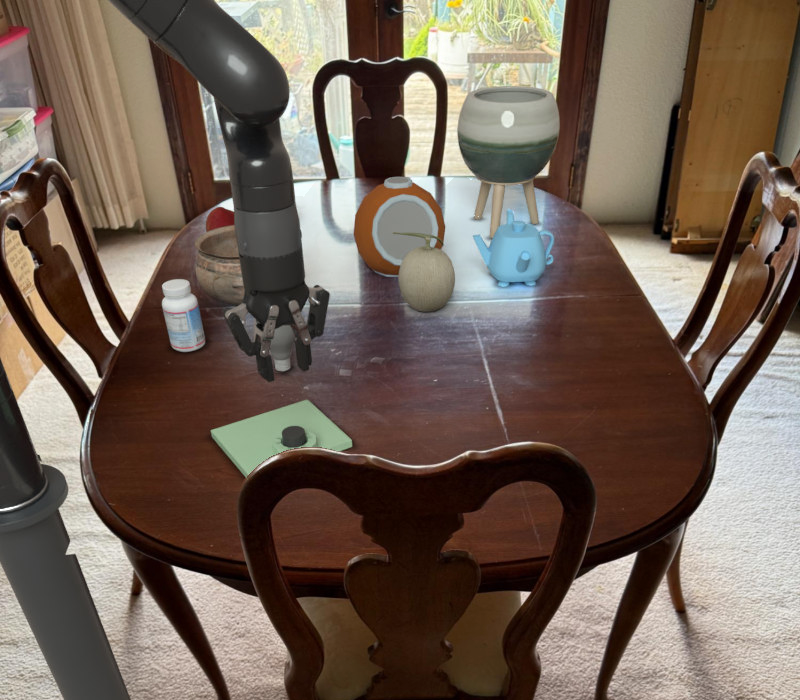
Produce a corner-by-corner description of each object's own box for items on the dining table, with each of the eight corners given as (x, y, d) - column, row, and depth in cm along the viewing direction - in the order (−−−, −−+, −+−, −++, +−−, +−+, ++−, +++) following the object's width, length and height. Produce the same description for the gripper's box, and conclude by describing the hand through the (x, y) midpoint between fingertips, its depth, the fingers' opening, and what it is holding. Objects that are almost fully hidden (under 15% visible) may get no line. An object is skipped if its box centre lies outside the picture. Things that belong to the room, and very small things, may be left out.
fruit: (466, 303, 151) (469, 223, 141) (434, 324, 143) (435, 243, 134) (421, 291, 155) (421, 214, 146) (388, 312, 148) (385, 232, 139)
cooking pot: (209, 280, 162) (198, 220, 154) (300, 275, 163) (294, 215, 155) (195, 332, 143) (181, 266, 135) (298, 327, 144) (291, 261, 136)
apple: (241, 249, 176) (235, 212, 171) (205, 249, 176) (199, 213, 171) (246, 237, 182) (241, 201, 177) (212, 238, 182) (206, 202, 177)
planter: (454, 212, 193) (457, 84, 175) (544, 211, 192) (556, 83, 174) (455, 243, 176) (459, 106, 158) (554, 243, 175) (569, 104, 157)
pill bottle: (195, 334, 142) (183, 274, 135) (212, 346, 139) (200, 284, 131) (165, 344, 139) (151, 283, 132) (181, 356, 136) (167, 294, 129)
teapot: (463, 278, 160) (465, 222, 153) (505, 260, 167) (509, 205, 160) (522, 299, 152) (527, 240, 144) (564, 279, 159) (570, 222, 152)
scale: (253, 487, 106) (250, 468, 104) (211, 437, 115) (208, 419, 113) (356, 450, 112) (354, 432, 110) (308, 405, 122) (306, 388, 120)
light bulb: (296, 379, 128) (289, 322, 122) (261, 377, 129) (252, 320, 123) (305, 362, 133) (299, 306, 127) (271, 360, 134) (263, 304, 127)
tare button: (289, 451, 107) (287, 440, 106) (279, 440, 109) (277, 430, 108) (310, 444, 109) (308, 433, 108) (299, 433, 111) (298, 423, 110)
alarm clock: (362, 286, 158) (357, 197, 147) (349, 255, 171) (344, 171, 160) (453, 277, 161) (456, 189, 150) (434, 248, 174) (435, 165, 163)
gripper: (309, 222, 97) (320, 349, 108) (200, 246, 91) (224, 377, 102) (338, 239, 92) (347, 370, 103) (225, 265, 86) (247, 401, 97)
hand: (286, 373), depth 102 cm, fingers open, 4 cm apart
